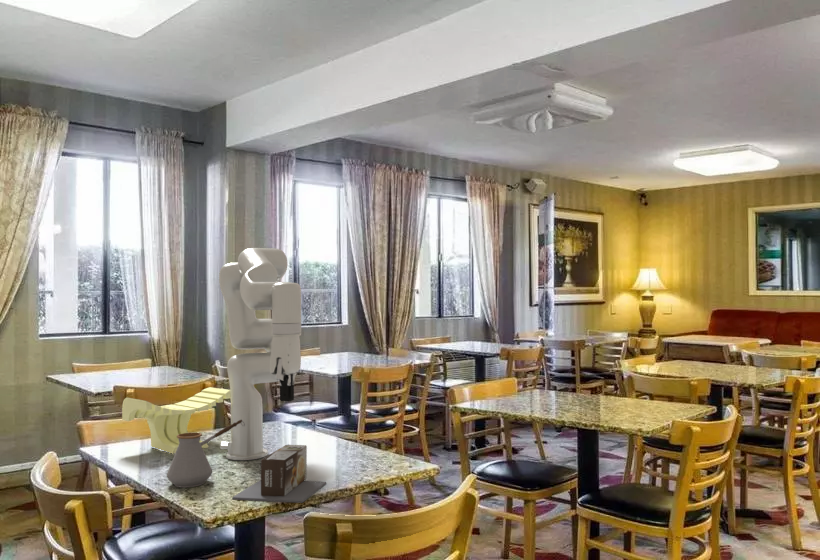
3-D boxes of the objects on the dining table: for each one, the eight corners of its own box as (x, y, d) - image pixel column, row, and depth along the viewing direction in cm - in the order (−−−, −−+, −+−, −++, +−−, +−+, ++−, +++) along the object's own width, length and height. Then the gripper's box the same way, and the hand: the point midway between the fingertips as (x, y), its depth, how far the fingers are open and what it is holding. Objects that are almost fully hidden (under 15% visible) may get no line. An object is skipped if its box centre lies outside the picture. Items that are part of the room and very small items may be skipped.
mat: (232, 499, 167) (232, 497, 167) (262, 480, 183) (262, 479, 183) (302, 502, 163) (302, 500, 163) (326, 483, 179) (326, 481, 179)
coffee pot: (176, 492, 174) (175, 432, 174) (160, 483, 183) (159, 426, 183) (253, 477, 187) (253, 421, 188) (235, 469, 196) (235, 416, 196)
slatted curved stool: (205, 436, 244) (204, 386, 245) (230, 442, 234) (230, 389, 234) (122, 452, 222) (122, 396, 222) (146, 459, 211) (146, 400, 212)
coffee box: (284, 444, 183) (260, 457, 168) (307, 445, 182) (285, 458, 166) (284, 479, 183) (260, 495, 167) (307, 480, 182) (285, 496, 166)
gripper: (284, 328, 187) (284, 395, 187) (261, 331, 172) (261, 405, 172) (310, 328, 185) (310, 396, 185) (289, 332, 171) (289, 406, 171)
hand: (287, 400), depth 179 cm, fingers closed
